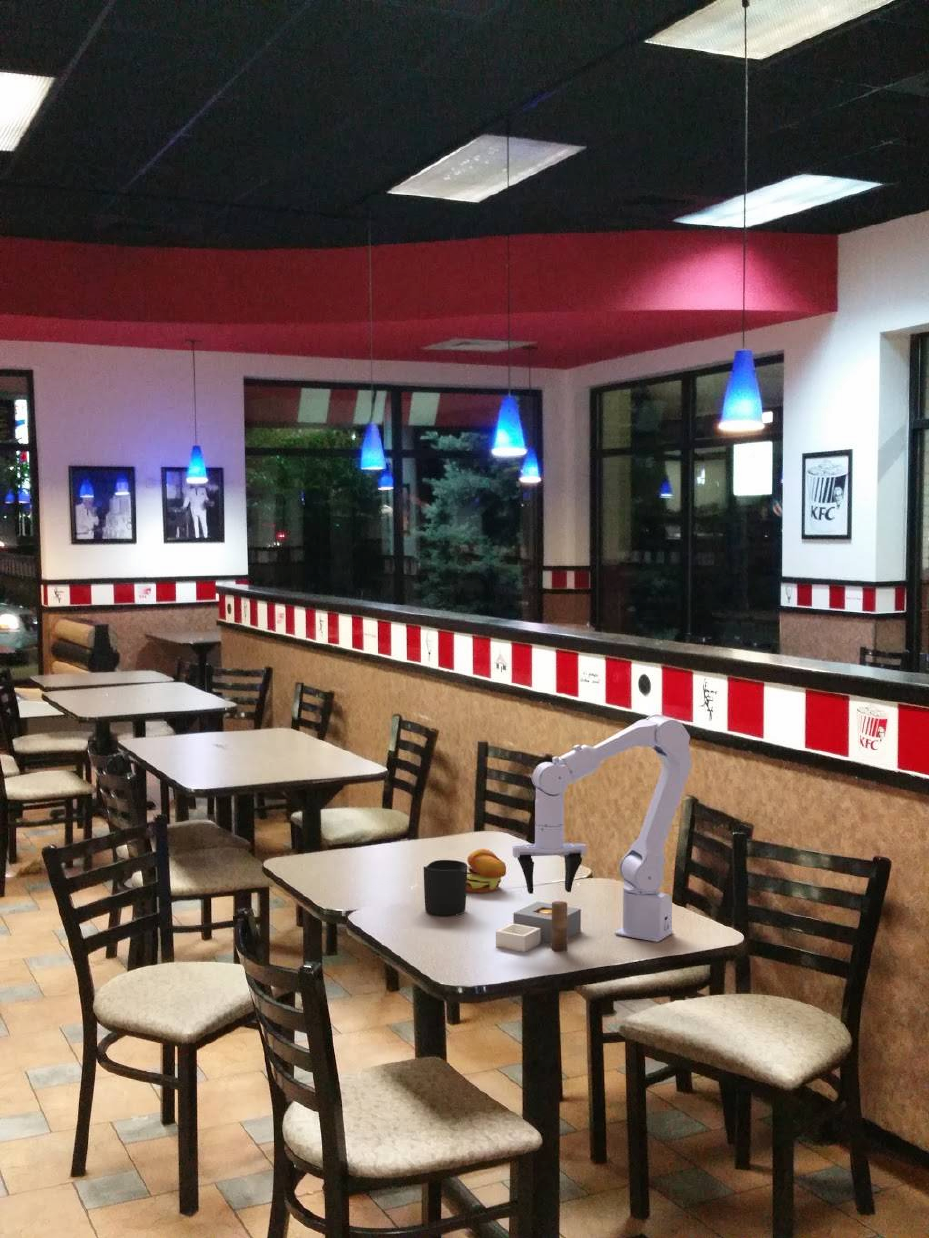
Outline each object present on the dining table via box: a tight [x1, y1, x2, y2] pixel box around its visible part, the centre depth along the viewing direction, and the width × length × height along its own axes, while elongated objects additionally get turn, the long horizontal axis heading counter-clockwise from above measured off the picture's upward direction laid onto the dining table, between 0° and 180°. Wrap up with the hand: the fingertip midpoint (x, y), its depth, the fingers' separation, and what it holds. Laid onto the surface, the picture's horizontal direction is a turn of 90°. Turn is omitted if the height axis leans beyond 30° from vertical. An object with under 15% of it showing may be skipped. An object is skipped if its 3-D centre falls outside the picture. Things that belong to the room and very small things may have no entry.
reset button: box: [538, 910, 552, 915], centre depth 247 cm, size 5×5×1 cm
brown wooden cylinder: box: [550, 900, 568, 953], centre depth 236 cm, size 3×3×9 cm
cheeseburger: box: [466, 848, 507, 894], centre depth 281 cm, size 10×11×10 cm
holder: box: [495, 922, 542, 953], centre depth 239 cm, size 6×6×3 cm
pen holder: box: [423, 859, 468, 917], centre depth 263 cm, size 9×9×10 cm
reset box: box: [512, 901, 582, 943], centre depth 247 cm, size 10×10×4 cm
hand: (549, 891), depth 242 cm, fingers open, 7 cm apart
